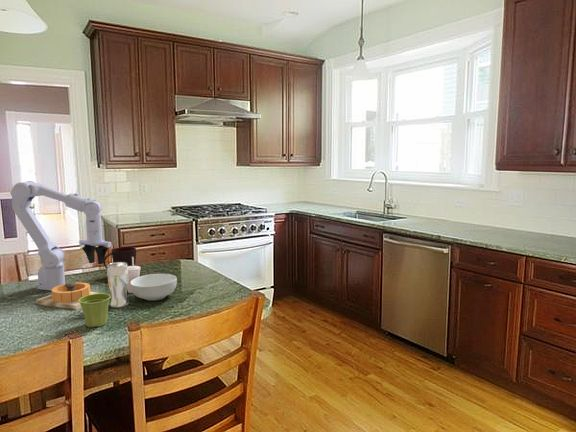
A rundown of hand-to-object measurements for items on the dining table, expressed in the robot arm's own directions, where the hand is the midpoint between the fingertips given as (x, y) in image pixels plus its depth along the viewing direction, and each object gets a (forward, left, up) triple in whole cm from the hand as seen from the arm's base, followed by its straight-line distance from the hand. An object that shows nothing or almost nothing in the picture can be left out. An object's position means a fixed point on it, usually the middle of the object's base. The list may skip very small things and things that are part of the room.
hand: (96, 263), depth 176 cm
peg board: (+4, -18, -9) cm, 21 cm away
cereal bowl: (+31, -5, -10) cm, 33 cm away
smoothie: (+19, -2, -10) cm, 21 cm away
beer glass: (+24, -16, -10) cm, 30 cm away
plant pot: (+29, -33, -10) cm, 45 cm away
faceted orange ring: (+4, -18, -8) cm, 20 cm away
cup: (0, +14, -10) cm, 17 cm away
